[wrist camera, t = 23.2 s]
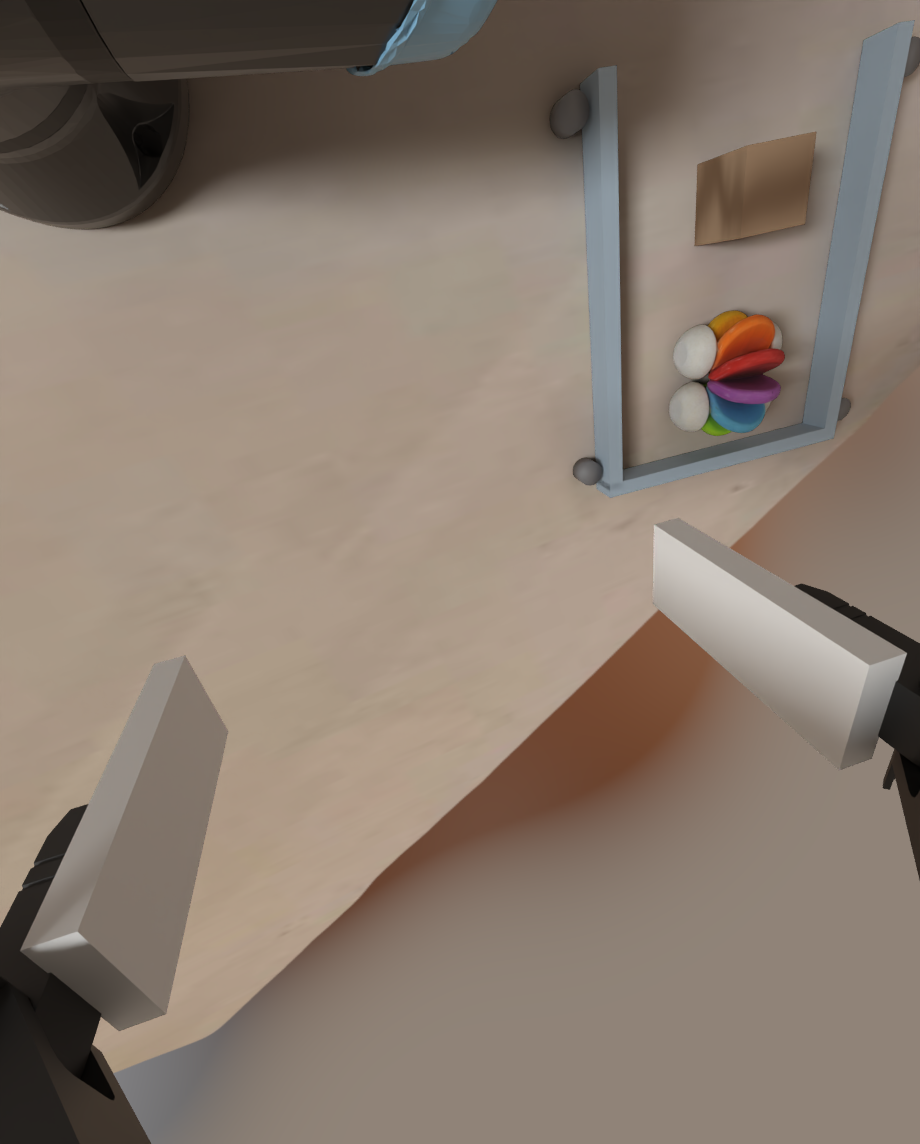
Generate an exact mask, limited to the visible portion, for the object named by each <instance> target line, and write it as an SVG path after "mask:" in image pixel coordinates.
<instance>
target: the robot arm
mask: <svg viewBox="0 0 920 1144" xmlns="http://www.w3.org/2000/svg"><path fill="white" fill-rule="evenodd" d="M496 2H497V0H0V210H2V211H4V212H7V213H9V214H12V215H15V216H18V217H21V218H25V219H28V220H31V221H34V222H38V223H42V224H45V225H49V226H55V227H60V228H68V229H95V228H103V227H108V226H112V225H115V224H119V223H122V222H124V221H127V220H129V219H131V218H133V217H135V216H137V215H138V214H140V213H141V212H143V211H144V210H146V209H147V208H148V207H149V206H151V205H152V204H153V203H154V202H155V201H156V200H157V199H158V198H159V197H160V196H161V195H162V193H163V192H164V191H165V190H166V188H167V187H168V185H169V184H170V182H171V181H172V179H173V177H174V175H175V173H176V171H177V169H178V166H179V164H180V162H181V158H182V155H183V152H184V148H185V144H186V139H187V132H188V123H189V93H188V84H187V78H201V77H217V76H232V75H248V74H264V73H279V72H295V71H311V70H326V69H342V68H346V69H347V70H348V72H349V73H351V74H353V75H357V76H370V75H373V74H375V73H376V72H378V71H381V70H383V69H385V68H386V67H388V66H389V65H397V64H405V63H414V62H422V61H430V60H437V59H442V58H444V57H447V56H449V55H451V54H453V53H454V52H455V51H457V50H458V48H459V47H461V46H462V45H464V44H466V43H467V42H468V41H469V39H470V38H471V37H473V36H474V35H476V33H477V32H478V31H479V30H480V29H481V27H482V26H483V24H484V23H485V21H486V20H487V18H488V16H489V15H490V13H491V11H492V9H493V7H494V6H495V4H496ZM653 604H654V605H655V606H656V607H657V608H658V609H659V610H660V611H661V612H663V613H664V614H665V615H666V616H667V617H668V618H669V619H671V620H672V621H673V622H674V623H675V624H676V625H677V626H678V627H679V628H680V629H682V630H683V631H684V632H685V633H686V634H687V635H688V636H689V637H690V638H692V639H693V640H694V641H695V642H696V643H697V644H698V645H699V646H700V647H702V648H703V649H704V650H705V651H706V652H707V653H708V654H709V655H711V656H712V657H713V658H714V659H715V660H716V661H717V662H718V663H719V664H721V665H722V666H723V667H724V668H725V669H726V670H727V671H728V672H730V673H731V674H732V675H733V676H734V677H735V678H736V679H737V680H738V681H740V682H741V683H742V684H743V685H744V686H745V687H746V688H747V689H749V690H750V691H751V692H752V693H753V694H754V695H755V696H756V697H757V698H759V699H760V700H761V701H762V702H763V703H764V704H765V705H766V706H768V707H769V708H770V709H771V710H772V711H773V712H774V713H776V714H777V715H778V716H779V717H780V718H781V719H782V720H783V721H784V722H785V723H787V724H788V725H789V726H790V727H791V728H792V729H793V730H794V731H795V732H797V733H798V734H799V735H800V736H801V737H802V738H803V739H805V740H806V741H807V742H808V743H809V744H810V745H811V746H812V747H813V748H814V749H816V750H817V751H818V752H819V753H820V754H821V755H822V756H824V757H825V758H826V759H827V760H828V761H829V762H830V763H831V764H832V765H834V766H835V767H836V768H837V769H838V770H842V769H844V768H847V767H850V766H853V765H855V764H858V763H861V762H864V761H866V760H869V759H872V756H873V753H874V750H875V747H876V744H877V741H878V738H879V737H880V738H881V739H883V740H884V741H885V742H886V743H888V744H889V745H890V746H892V747H893V748H894V752H893V755H892V758H891V760H890V763H889V766H888V769H887V771H886V774H885V777H884V781H883V788H884V789H890V787H891V785H892V782H893V780H894V779H895V778H896V782H897V786H898V790H899V795H900V799H901V803H902V808H903V812H904V816H905V820H906V825H907V829H908V833H909V837H910V841H911V846H912V849H913V854H914V858H915V862H916V867H917V871H918V875H919V879H920V643H918V642H916V641H914V640H913V639H911V638H909V637H907V636H905V635H904V634H902V633H900V632H898V631H897V630H895V629H893V628H891V627H890V626H888V625H886V624H884V623H882V622H881V621H879V620H877V619H875V618H874V617H872V616H869V617H868V616H867V615H866V613H865V612H862V611H861V610H859V609H858V608H856V607H854V606H851V607H850V606H849V603H847V602H845V601H843V600H842V599H840V598H838V597H836V596H834V595H833V594H831V593H829V592H827V591H824V590H820V589H817V588H814V587H811V586H808V585H804V584H799V585H796V586H793V585H791V584H789V583H787V582H786V581H784V580H783V579H781V578H779V577H778V576H775V575H774V574H772V573H771V572H769V571H767V570H766V569H764V568H762V567H761V566H759V565H757V564H756V563H754V562H752V561H750V560H749V559H747V558H745V557H744V556H742V555H740V554H739V553H737V552H735V551H734V550H732V549H730V548H728V547H727V546H725V545H723V544H722V543H720V542H718V541H717V540H715V539H713V538H712V537H710V536H708V535H706V534H705V533H703V532H701V531H700V530H698V529H696V528H695V527H693V526H691V525H689V524H688V523H686V522H684V521H683V520H681V519H679V518H676V519H672V520H669V521H665V522H662V523H658V524H654V561H653ZM227 734H228V730H227V728H226V726H225V725H224V723H223V721H222V719H221V718H220V716H219V714H218V712H217V710H216V709H215V707H214V705H213V703H212V702H211V700H210V698H209V696H208V695H207V693H206V691H205V689H204V688H203V686H202V684H201V682H200V681H199V679H198V677H197V675H196V674H195V672H194V670H193V668H192V667H191V665H190V663H189V661H188V659H187V658H186V656H181V657H178V658H174V659H170V660H167V661H163V662H160V663H156V664H154V665H153V668H152V670H151V672H150V674H149V676H148V678H147V680H146V683H145V685H144V687H143V689H142V691H141V693H140V695H139V697H138V700H137V702H136V704H135V706H134V708H133V710H132V712H131V715H130V717H129V719H128V721H127V723H126V725H125V727H124V730H123V732H122V734H121V736H120V738H119V740H118V742H117V744H116V747H115V749H114V751H113V753H112V755H111V757H110V759H109V762H108V764H107V766H106V768H105V770H104V772H103V774H102V777H101V779H100V781H99V783H98V785H97V787H96V789H95V791H94V794H93V796H92V798H91V800H90V802H89V804H87V805H84V806H80V807H77V808H74V809H71V810H70V811H69V812H68V813H67V814H66V815H65V816H64V818H63V819H62V820H61V821H60V822H59V823H58V825H57V826H56V827H55V828H54V829H53V830H52V832H51V833H50V834H49V835H48V836H47V838H46V840H45V842H44V844H43V846H42V848H41V850H40V852H39V854H38V856H37V858H36V860H35V861H34V868H31V869H30V871H29V873H28V875H27V877H26V879H25V881H24V883H23V885H22V887H23V889H22V891H19V892H18V894H17V896H16V898H15V900H14V902H13V904H12V906H11V908H10V910H9V912H8V914H7V916H6V918H5V919H4V921H3V923H2V925H1V927H0V1144H151V1142H150V1140H149V1139H148V1137H147V1135H146V1133H145V1131H144V1130H143V1128H142V1126H141V1124H140V1122H139V1120H138V1118H137V1117H136V1115H135V1113H134V1111H133V1109H132V1107H131V1106H130V1104H129V1102H128V1100H127V1098H126V1097H125V1094H124V1093H123V1091H122V1089H121V1087H120V1085H119V1083H118V1082H117V1080H116V1078H115V1076H114V1074H113V1072H112V1071H111V1069H110V1067H109V1065H108V1063H107V1061H106V1059H105V1058H104V1056H103V1054H102V1052H101V1051H100V1050H98V1049H97V1048H96V1047H95V1046H94V1045H92V1043H93V1040H94V1037H95V1034H96V1030H97V1027H98V1024H99V1021H100V1018H101V1017H102V1018H103V1019H105V1020H106V1021H107V1022H108V1023H110V1024H111V1025H112V1026H113V1027H115V1028H116V1029H117V1030H118V1031H121V1030H124V1029H126V1028H129V1027H132V1026H135V1025H137V1024H140V1023H143V1022H146V1021H148V1020H151V1019H154V1018H157V1017H159V1016H162V1015H165V1014H166V1012H167V1008H168V1003H169V999H170V994H171V990H172V985H173V981H174V976H175V971H176V967H177V962H178V958H179V953H180V949H181V944H182V940H183V935H184V930H185V926H186V921H187V917H188V912H189V908H190V903H191V899H192V894H193V889H194V885H195V880H196V876H197V871H198V867H199V862H200V858H201V853H202V848H203V844H204V839H205V835H206V830H207V826H208V821H209V816H210V812H211V807H212V803H213V798H214V794H215V789H216V785H217V780H218V775H219V771H220V766H221V762H222V757H223V753H224V748H225V744H226V739H227Z"/></svg>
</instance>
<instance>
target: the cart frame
mask: <svg viewBox="0 0 920 1144" xmlns="http://www.w3.org/2000/svg"><path fill="white" fill-rule="evenodd" d="M914 21H915V20H913V21H906V22H900V23H897V24H895V25H893V26H891V27H889V28H887V29H885V30H883V31H881V32H879V33H877V34H875V35H873V36H871V37H869V38H867V39H865V40H864V41H863V47H862V54H861V60H860V66H859V72H858V79H857V85H856V91H855V97H854V104H853V110H852V116H851V122H850V129H849V135H848V141H847V147H846V154H845V160H844V166H843V172H842V179H841V185H840V191H839V197H838V203H837V210H836V216H835V222H834V228H833V235H832V241H831V247H830V253H829V260H828V266H827V272H826V278H825V285H824V291H823V297H822V303H821V310H820V316H819V322H818V328H817V335H816V341H815V347H814V353H813V360H812V366H811V372H810V378H809V385H808V391H807V397H806V403H805V409H804V416H803V422H802V423H801V424H797V425H793V426H789V427H785V428H781V429H777V430H774V431H770V432H766V433H762V434H758V435H754V436H750V437H747V438H743V439H739V440H735V441H731V442H727V443H723V444H720V445H716V446H712V447H708V448H704V449H700V450H696V451H693V452H689V453H685V454H681V455H677V456H673V457H669V458H666V459H662V460H658V461H654V462H650V463H646V464H642V465H639V466H635V467H631V468H627V469H623V464H622V394H621V325H620V256H619V186H618V117H617V65H615V66H609V67H602V68H598V69H597V70H596V71H594V72H593V73H592V74H591V75H590V76H589V77H587V78H586V79H585V80H584V81H583V82H582V83H581V84H580V90H571V91H569V92H568V93H567V94H566V95H565V96H563V97H562V98H561V99H560V100H559V101H558V102H557V103H556V104H555V105H554V106H553V108H552V111H551V115H550V125H551V128H552V131H553V132H554V134H555V135H556V136H557V137H559V138H563V139H565V138H568V137H570V136H572V135H573V134H574V133H576V132H577V131H579V130H580V129H582V143H583V168H584V192H585V216H586V240H587V264H588V288H589V313H590V337H591V361H592V385H593V409H594V433H595V458H596V462H594V461H592V460H591V459H589V458H582V459H580V460H578V461H577V462H576V463H575V465H574V467H573V475H574V477H575V478H576V479H578V480H579V481H581V482H582V483H584V484H585V485H594V484H596V483H597V489H598V490H599V491H601V492H602V493H604V494H605V495H607V496H608V497H610V498H611V497H615V496H619V495H623V494H626V493H630V492H634V491H638V490H642V489H645V488H649V487H653V486H657V485H660V484H664V483H668V482H672V481H675V480H679V479H683V478H687V477H690V476H694V475H698V474H702V473H705V472H709V471H713V470H717V469H720V468H724V467H728V466H732V465H736V464H739V463H743V462H747V461H751V460H754V459H758V458H762V457H766V456H769V455H773V454H777V453H781V452H784V451H788V450H792V449H796V448H799V447H803V446H807V445H811V444H815V443H818V442H822V441H826V440H830V439H833V438H834V434H835V429H836V424H837V421H839V420H842V419H843V418H844V417H845V416H846V415H847V414H848V412H849V410H850V407H851V403H850V400H849V399H847V398H842V393H843V388H844V383H845V378H846V372H847V367H848V362H849V357H850V352H851V347H852V341H853V336H854V331H855V326H856V321H857V315H858V310H859V305H860V300H861V295H862V290H863V284H864V279H865V274H866V269H867V264H868V259H869V253H870V248H871V243H872V238H873V233H874V228H875V222H876V217H877V212H878V207H879V202H880V197H881V191H882V186H883V181H884V176H885V171H886V166H887V160H888V155H889V150H890V145H891V140H892V135H893V129H894V124H895V119H896V114H897V109H898V104H899V98H900V93H901V88H902V83H903V78H904V77H906V76H908V75H910V74H912V73H913V72H914V71H915V70H916V68H917V67H918V65H919V63H920V38H918V37H911V36H912V31H913V26H914Z"/></svg>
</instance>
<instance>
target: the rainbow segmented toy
mask: <svg viewBox="0 0 920 1144" xmlns="http://www.w3.org/2000/svg"><path fill="white" fill-rule="evenodd" d="M781 347H782V333H781V330H780V328H779V327H778V326H777V325H776V324H775V323H774V322H772V321H771V320H770V319H769V318H768V317H766V316H763V315H753V316H750V317H747V316H746V315H745V314H744V313H742V312H740V311H727V312H724V313H722V314H720V315H718V316H717V317H716V318H714V319H713V320H712V321H711V322H710V323H709V325H708V326H706V325H697V326H695V327H692V328H691V329H689V330H688V331H686V332H685V333H684V334H683V335H682V336H681V337H680V338H679V340H678V342H677V343H676V346H675V349H674V354H673V359H674V364H675V367H676V369H677V370H678V371H679V372H680V373H681V374H682V375H683V376H685V377H687V378H690V379H700V378H703V377H704V376H706V375H707V373H709V376H708V378H709V379H710V380H709V381H708V383H706V384H700V383H698V382H690V383H687V384H685V385H683V386H682V387H680V388H679V389H678V390H677V391H676V392H675V394H674V395H673V397H672V399H671V401H670V404H669V415H670V418H671V420H672V422H673V423H674V424H675V425H676V426H677V427H678V428H680V429H682V430H684V431H689V432H694V431H698V430H700V429H702V430H703V431H704V432H706V433H707V434H710V435H714V436H720V435H725V434H728V433H730V432H731V431H733V432H738V433H745V432H749V431H752V430H753V429H755V428H756V427H757V426H758V425H759V424H760V423H761V422H762V420H763V418H764V415H765V411H766V410H767V408H768V407H769V405H770V403H771V401H772V400H774V399H775V398H777V396H778V395H779V393H780V390H781V387H780V385H779V383H778V382H777V381H775V380H773V379H772V378H770V377H767V376H765V375H763V373H765V372H767V371H769V370H771V369H773V368H775V367H777V366H779V365H780V364H781V363H782V362H783V361H784V358H785V355H784V352H783V351H782V350H781Z"/></svg>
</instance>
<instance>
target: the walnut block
mask: <svg viewBox="0 0 920 1144" xmlns="http://www.w3.org/2000/svg"><path fill="white" fill-rule="evenodd" d="M815 139H816V132H812V133H807V134H802V135H797V136H792V137H787V138H782V139H777V140H772V141H767V142H762V143H757V144H752V145H747V146H745V147H742V148H740V149H737V150H734V151H732V152H729V153H726V154H724V155H721V156H719V157H716V158H713V159H711V160H708V161H705V162H703V163H700V164H698V165H697V193H696V221H695V246H698V245H704V244H710V243H716V242H722V241H728V240H734V239H740V238H745V237H749V236H754V235H758V234H763V233H767V232H772V231H776V230H780V229H785V228H789V227H794V226H798V225H803V224H805V220H806V212H807V203H808V195H809V187H810V179H811V171H812V163H813V155H814V147H815Z"/></svg>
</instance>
